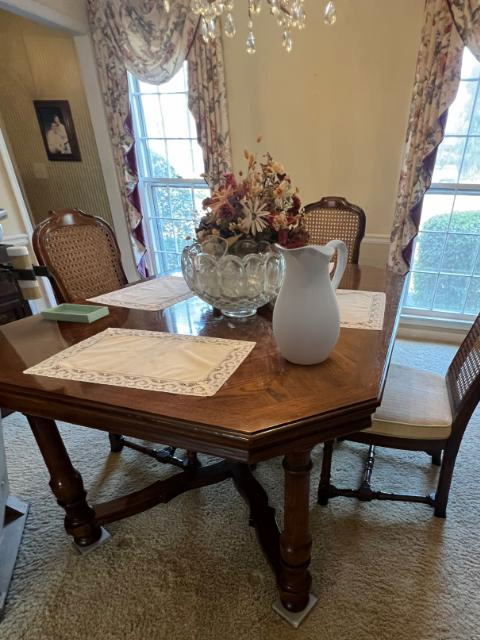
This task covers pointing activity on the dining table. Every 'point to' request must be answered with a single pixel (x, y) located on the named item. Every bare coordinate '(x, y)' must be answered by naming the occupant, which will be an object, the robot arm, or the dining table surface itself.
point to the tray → (75, 313)
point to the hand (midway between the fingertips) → (41, 273)
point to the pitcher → (309, 303)
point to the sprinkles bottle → (23, 262)
